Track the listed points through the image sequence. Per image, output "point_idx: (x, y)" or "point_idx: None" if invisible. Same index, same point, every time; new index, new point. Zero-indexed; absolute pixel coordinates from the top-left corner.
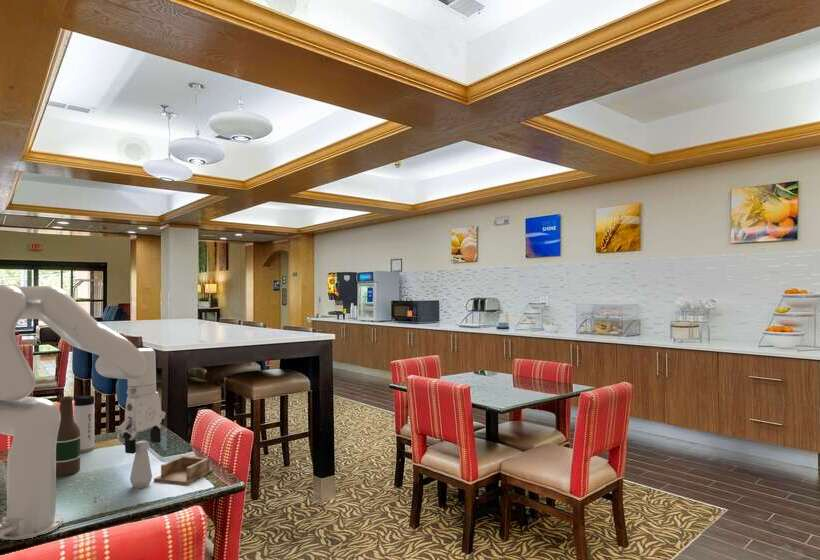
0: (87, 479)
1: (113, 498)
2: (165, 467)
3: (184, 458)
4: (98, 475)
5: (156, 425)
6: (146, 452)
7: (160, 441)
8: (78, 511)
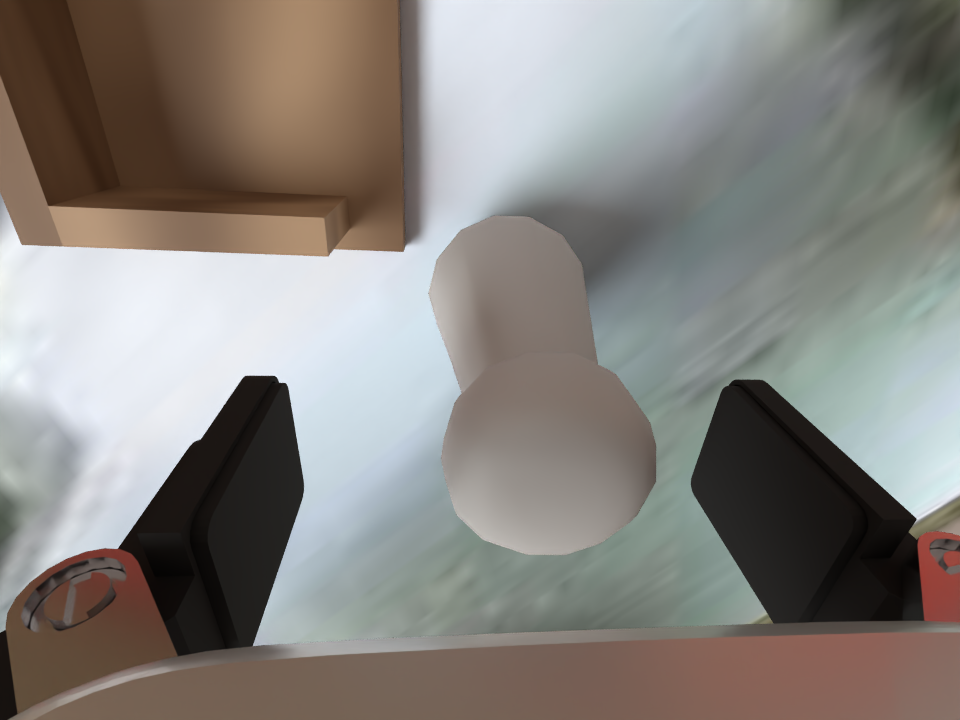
0: (475, 585)
1: (721, 288)
2: (314, 211)
3: (46, 178)
4: (416, 582)
5: (303, 645)
6: (522, 350)
7: (247, 376)
8: (902, 334)
